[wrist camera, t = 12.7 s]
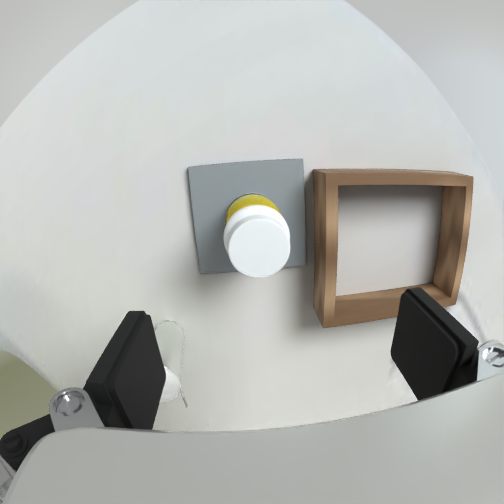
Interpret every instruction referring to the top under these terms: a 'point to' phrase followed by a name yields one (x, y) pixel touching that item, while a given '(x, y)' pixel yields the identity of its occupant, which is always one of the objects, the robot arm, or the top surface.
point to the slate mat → (234, 185)
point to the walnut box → (387, 301)
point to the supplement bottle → (256, 236)
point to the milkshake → (171, 357)
